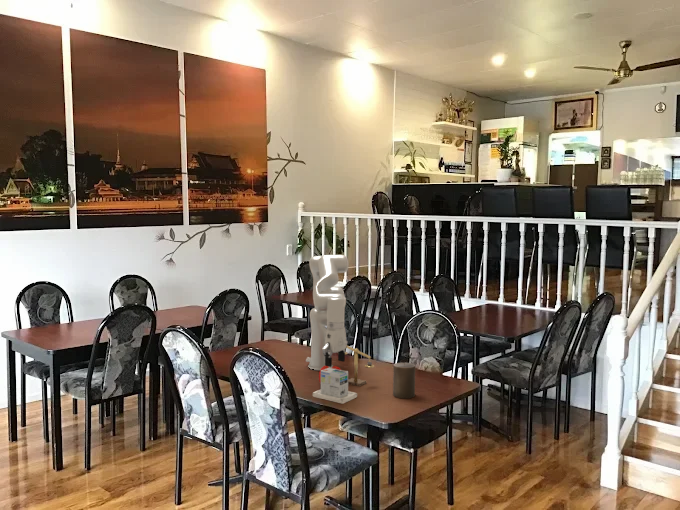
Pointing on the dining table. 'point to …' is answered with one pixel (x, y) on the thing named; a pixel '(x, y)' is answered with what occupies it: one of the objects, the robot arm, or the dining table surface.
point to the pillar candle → (404, 380)
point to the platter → (340, 400)
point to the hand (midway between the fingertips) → (334, 363)
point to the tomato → (326, 368)
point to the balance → (369, 365)
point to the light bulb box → (334, 382)
